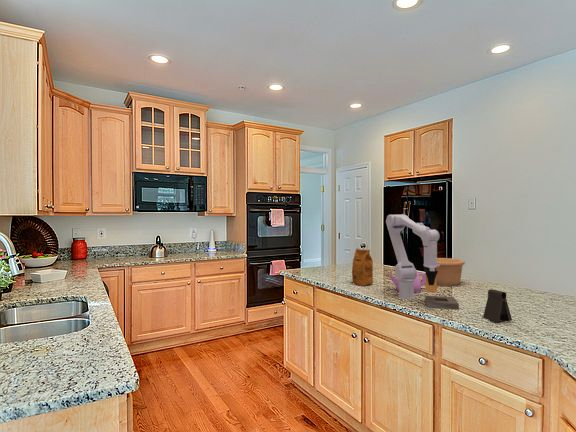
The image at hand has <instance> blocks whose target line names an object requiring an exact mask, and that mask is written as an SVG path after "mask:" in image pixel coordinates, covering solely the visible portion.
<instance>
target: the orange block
mask: <svg viewBox="0 0 576 432" xmlns="http://www.w3.org/2000/svg"><path fill="white" fill-rule="evenodd" d="M424 285H425V287H424V288H425V292H427V293H438V288H437V287H438V285H437V279H436V278H435V282H434V285H429V284H428V278H427V277H425V284H424Z"/></svg>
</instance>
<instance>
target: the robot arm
mask: <svg viewBox="0 0 576 432" xmlns="http://www.w3.org/2000/svg"><path fill="white" fill-rule="evenodd" d="M385 224H386V227H387V231H388V234H389V237H390V240H391V241H390V242H391V243H392V247H393V250H394V254H395V258H396V261H397V264H396V265H395V266H394V271H395V272H394V273H395V277H396V278H397V279H398V280H399V291H398V294H397V296H398V299H407V300H409V299H410V300H416V298H415V293H414V281H415V278H416V277H417V272H418V271H417V269H416V268H415V265H414V263H413V262H411V261H410V260H409V259H408V255H407V252H406V249H405V246H404V242H403V239H402V235H401V232H402V231H403V230H404V229H405V227H407V228H409V229H412V233H413V234H415V235H417V236H418V237H420V240H421V241H422V246H423V270H424V273H425V274H426V277H427V278H428V284H429V285H434V282H435V277H436V275H437V273H438V271H435V270H436V267H438V266H440V265H439V264H437V258H438V241H439V240H440V237H441V235H440V232H439V231H438V230H437V229H432V228H430V227H429V226H425V225H424V223H423V222H415V221H414V220H412V219H410V218H409V216H408V215H406V214H405V213H401V214H388V215H387V216H386V220H385ZM396 278H395V279H396Z"/></svg>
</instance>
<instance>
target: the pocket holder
mask: <svg viewBox="0 0 576 432" xmlns="http://www.w3.org/2000/svg"><path fill="white" fill-rule="evenodd" d="M424 302H425V303H426V304H425V305H426V308H427V309H428V308H429V309H440V310H441V309H443V310H457V311H458V310H460V304H459V302H458V301H457V299H456V298H455V296H438V295H424Z"/></svg>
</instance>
